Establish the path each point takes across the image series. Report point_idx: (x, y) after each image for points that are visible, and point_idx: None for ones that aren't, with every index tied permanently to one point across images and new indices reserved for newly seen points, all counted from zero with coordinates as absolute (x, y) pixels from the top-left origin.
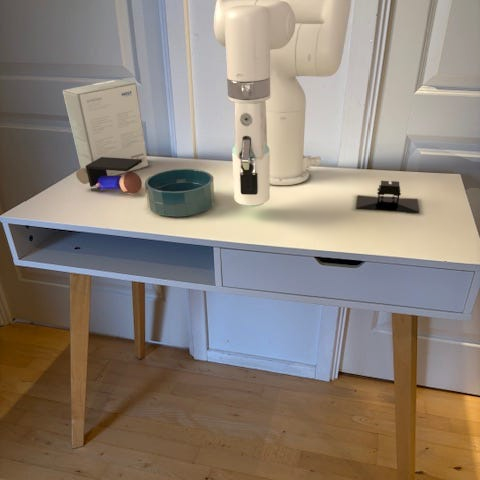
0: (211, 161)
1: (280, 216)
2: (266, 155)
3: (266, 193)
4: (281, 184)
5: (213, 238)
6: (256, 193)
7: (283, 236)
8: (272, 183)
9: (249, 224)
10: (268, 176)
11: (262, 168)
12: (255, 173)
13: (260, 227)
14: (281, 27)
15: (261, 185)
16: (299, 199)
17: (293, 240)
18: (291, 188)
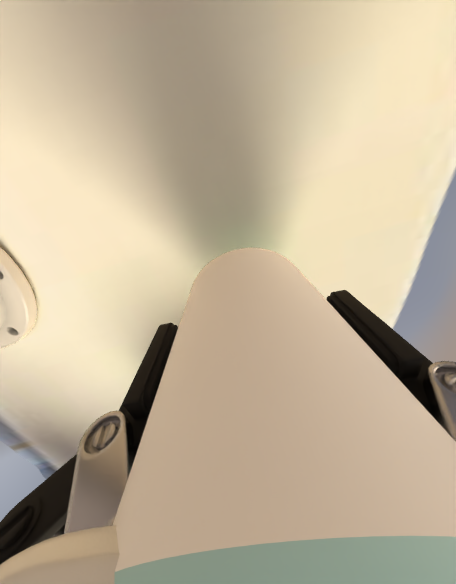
0: (15, 425)
1: (236, 196)
2: (435, 480)
3: (277, 261)
4: (14, 265)
5: (390, 318)
6: (345, 292)
7: (394, 133)
8: (30, 291)
9: (307, 268)
10: (274, 290)
11: (376, 359)
12: (437, 370)
13: (325, 233)
14: None
15: (319, 294)
16: (75, 170)
17: (435, 75)
18: (11, 228)
